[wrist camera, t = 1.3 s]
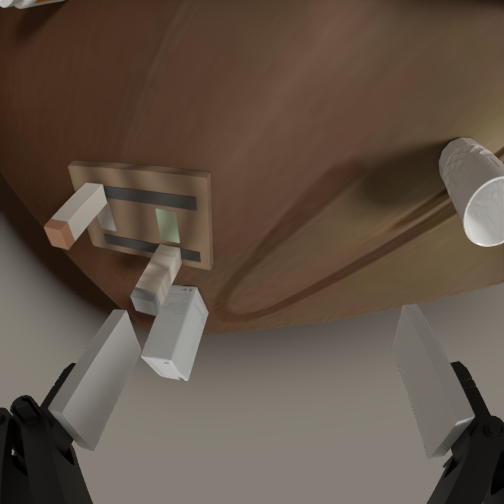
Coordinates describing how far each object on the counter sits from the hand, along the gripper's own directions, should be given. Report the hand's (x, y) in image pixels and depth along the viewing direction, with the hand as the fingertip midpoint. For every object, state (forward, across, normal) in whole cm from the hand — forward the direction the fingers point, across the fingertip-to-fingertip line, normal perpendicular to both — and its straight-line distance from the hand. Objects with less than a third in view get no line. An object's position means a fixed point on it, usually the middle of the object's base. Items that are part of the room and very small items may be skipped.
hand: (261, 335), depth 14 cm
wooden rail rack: (+29, -19, -2) cm, 35 cm away
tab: (+26, -25, +2) cm, 36 cm away
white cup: (+20, +23, +5) cm, 31 cm away
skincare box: (+35, -16, -21) cm, 44 cm away
